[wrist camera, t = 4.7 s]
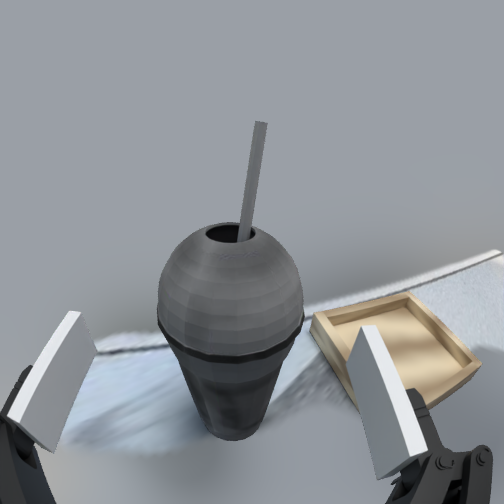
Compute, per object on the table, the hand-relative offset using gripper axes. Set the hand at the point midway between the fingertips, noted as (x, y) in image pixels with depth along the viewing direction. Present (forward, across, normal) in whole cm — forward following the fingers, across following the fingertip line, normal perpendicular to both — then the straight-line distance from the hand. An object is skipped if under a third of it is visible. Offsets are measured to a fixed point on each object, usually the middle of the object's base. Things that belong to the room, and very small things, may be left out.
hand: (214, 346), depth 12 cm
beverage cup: (+2, +1, -11) cm, 11 cm away
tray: (+7, +17, -11) cm, 21 cm away
